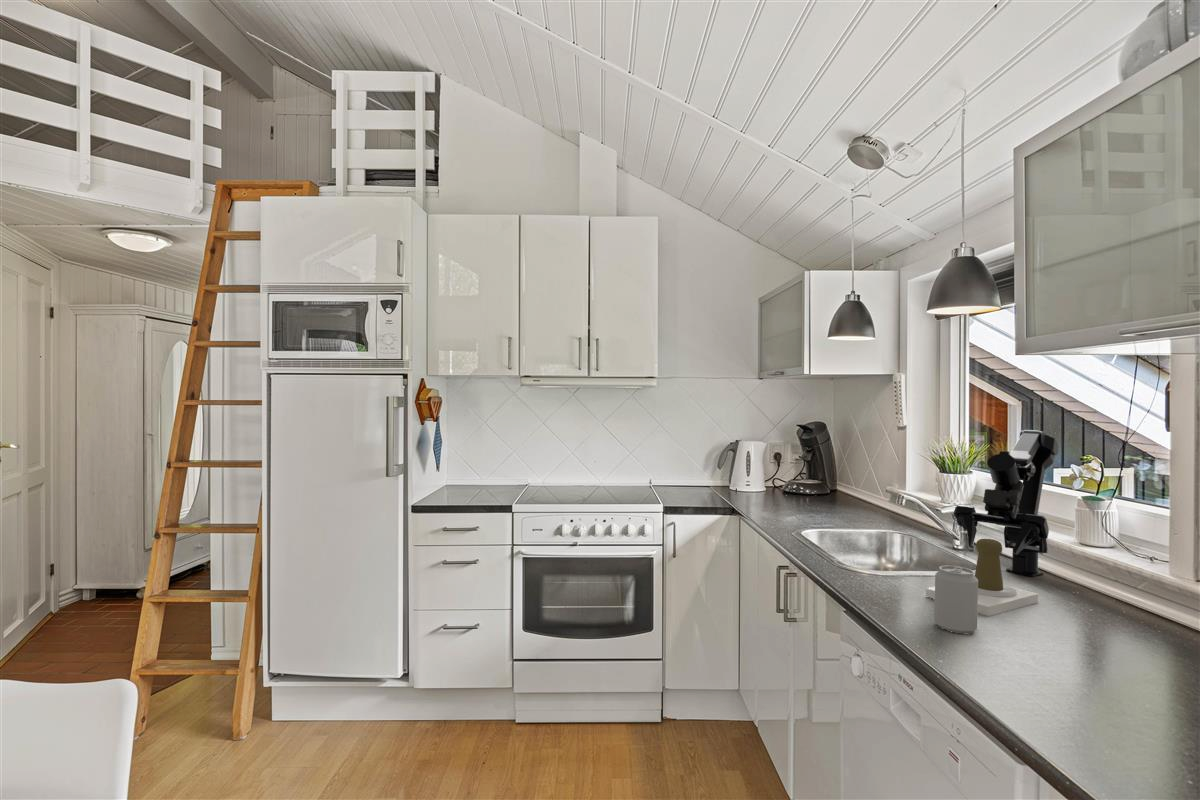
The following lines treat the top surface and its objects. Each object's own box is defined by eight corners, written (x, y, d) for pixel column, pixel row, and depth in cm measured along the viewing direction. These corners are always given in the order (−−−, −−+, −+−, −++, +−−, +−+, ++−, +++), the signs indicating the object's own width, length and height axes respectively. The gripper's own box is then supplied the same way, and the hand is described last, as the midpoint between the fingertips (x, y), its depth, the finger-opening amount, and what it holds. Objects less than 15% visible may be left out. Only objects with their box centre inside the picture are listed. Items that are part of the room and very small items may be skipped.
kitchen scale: (975, 585, 154) (976, 575, 154) (1038, 602, 142) (1038, 591, 142) (925, 597, 144) (926, 585, 144) (988, 616, 132) (988, 604, 132)
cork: (1001, 592, 140) (1003, 543, 140) (971, 587, 144) (972, 539, 144) (1005, 586, 145) (1006, 539, 145) (975, 581, 149) (976, 535, 148)
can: (928, 628, 125) (930, 568, 124) (940, 619, 130) (941, 561, 130) (971, 638, 119) (972, 576, 119) (981, 629, 125) (983, 569, 125)
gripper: (957, 472, 156) (940, 522, 149) (1046, 481, 142) (1033, 536, 135) (966, 500, 162) (951, 550, 154) (1054, 511, 148) (1041, 566, 141)
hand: (991, 550), depth 146 cm, fingers open, 9 cm apart
